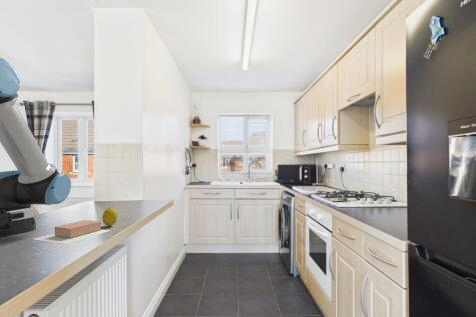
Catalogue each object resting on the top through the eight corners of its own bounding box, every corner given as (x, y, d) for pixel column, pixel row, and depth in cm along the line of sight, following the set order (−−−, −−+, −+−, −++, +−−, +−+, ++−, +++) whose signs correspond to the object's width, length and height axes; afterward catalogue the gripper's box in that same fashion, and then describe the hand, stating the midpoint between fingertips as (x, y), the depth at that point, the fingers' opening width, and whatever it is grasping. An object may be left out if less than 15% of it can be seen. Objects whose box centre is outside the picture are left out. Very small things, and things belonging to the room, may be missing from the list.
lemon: (113, 228, 101) (113, 208, 101) (99, 228, 101) (99, 208, 101) (119, 225, 106) (120, 206, 107) (106, 225, 107) (107, 206, 107)
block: (54, 226, 89) (85, 219, 100) (54, 236, 89) (85, 228, 100) (70, 228, 86) (100, 221, 97) (70, 238, 86) (100, 230, 97)
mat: (31, 239, 86) (31, 239, 86) (80, 227, 102) (80, 227, 102) (65, 245, 80) (65, 244, 80) (111, 231, 97) (111, 230, 97)
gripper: (-98, 246, 59) (19, 222, 81) (-69, 253, 54) (47, 226, 76) (-98, 214, 59) (19, 199, 81) (-69, 218, 54) (47, 201, 76)
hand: (32, 212), depth 79 cm, fingers closed
